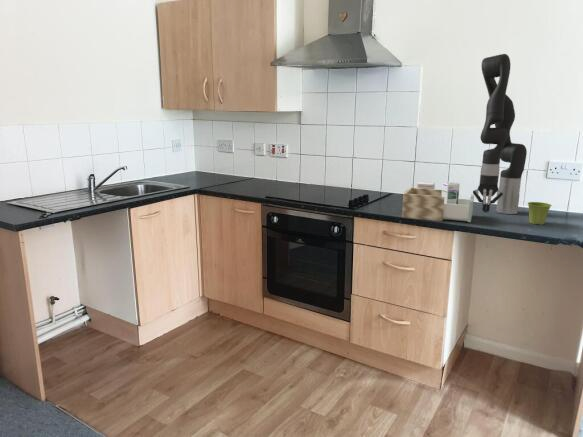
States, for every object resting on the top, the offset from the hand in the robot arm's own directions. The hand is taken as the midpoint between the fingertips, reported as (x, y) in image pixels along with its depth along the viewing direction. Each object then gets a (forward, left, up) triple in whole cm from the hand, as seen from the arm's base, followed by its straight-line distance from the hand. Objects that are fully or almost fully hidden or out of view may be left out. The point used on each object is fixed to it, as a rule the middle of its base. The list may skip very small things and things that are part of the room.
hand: (485, 212), depth 214 cm
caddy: (+26, 0, -4) cm, 27 cm away
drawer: (+15, 0, -3) cm, 15 cm away
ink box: (+29, -23, -4) cm, 38 cm away
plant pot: (-22, -5, -4) cm, 23 cm away
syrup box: (+16, 0, -3) cm, 16 cm away
